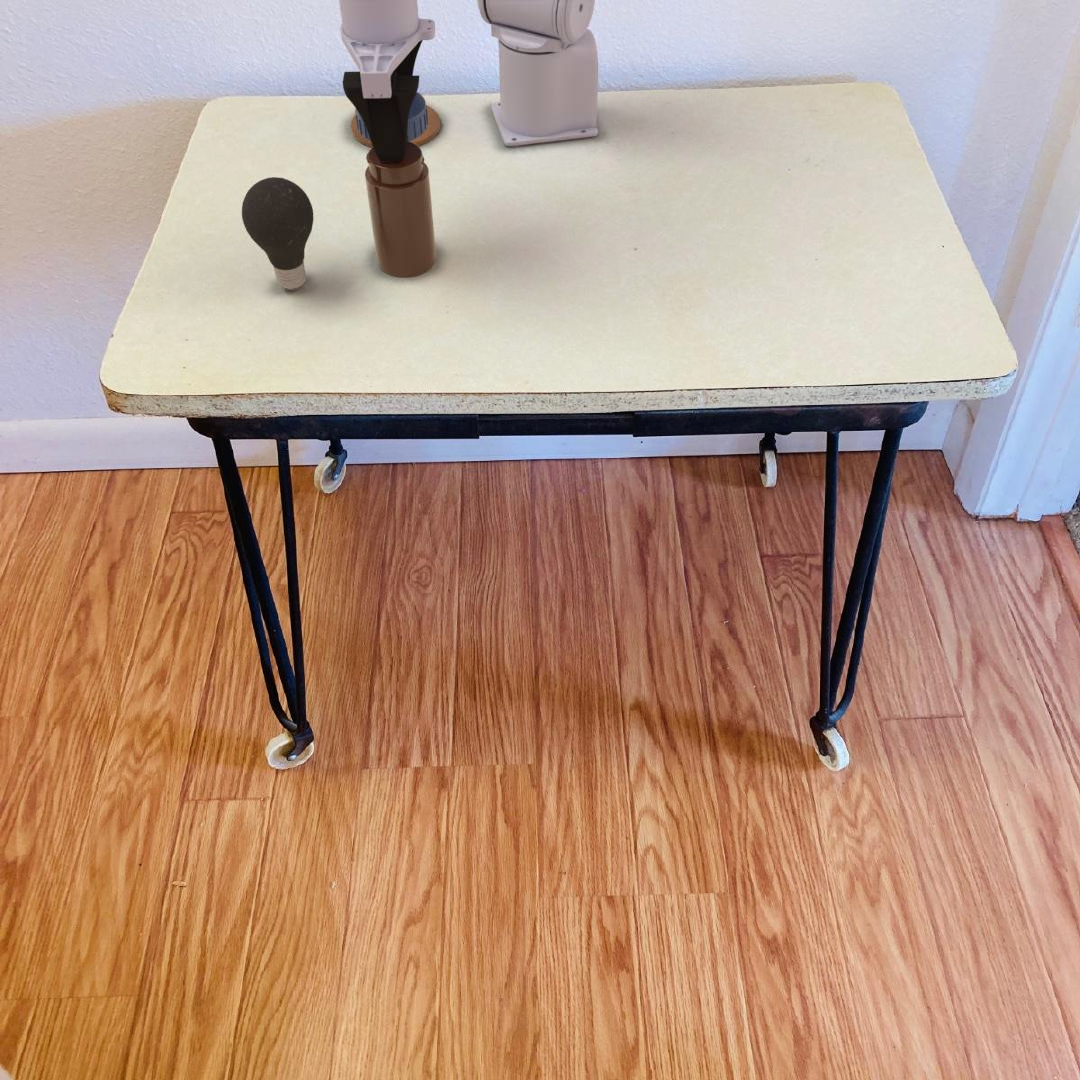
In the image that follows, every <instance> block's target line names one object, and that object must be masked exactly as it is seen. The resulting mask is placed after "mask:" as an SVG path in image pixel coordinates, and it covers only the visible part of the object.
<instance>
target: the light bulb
mask: <svg viewBox="0 0 1080 1080" xmlns="http://www.w3.org/2000/svg"><path fill="white" fill-rule="evenodd" d="M241 219H242V222H243V223H242V224H243V226H244V228H245V231H246V232H247V234H248V236H249V238H251V240H252V241H253V242H254V243H255V244H256V245H257V246H258V247H259V248H260V249H261V250H262V251H263V252H264V253H265V254H266V256H267V258H268V261H269V262H270V264H271V265H272V267H273V271H274V276H275V279H276V281H277V284H278V285H279V286H280V287H282V288H283V289H287V290H289V291H297V290H298V289H299V288H300V287H301V286H303V285H304V284H305V283H306V280H307V273H306V267H305V262H304V261H305V248H306V244H307V242H308V240H309V238H310V236H311V233H312V230H313V224H314V209H313V205H312V202H311V200H310V198H309V196H308V195H307V193H306V192H305V191H304V190H303V188H302V187H300V186H299V185H298V184H297V183H295V182H294V181H292V180H289V179H287V178H284V177H278V176H277V177H276V176H273V177H272V176H271V177H266V178H263V179H261V180H259V181H257V182H255V183H254V184H252V186H251V187H250V188H249V189H248V190H247V192H246V193H245V196H244V198H243V200H242V203H241Z"/></svg>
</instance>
